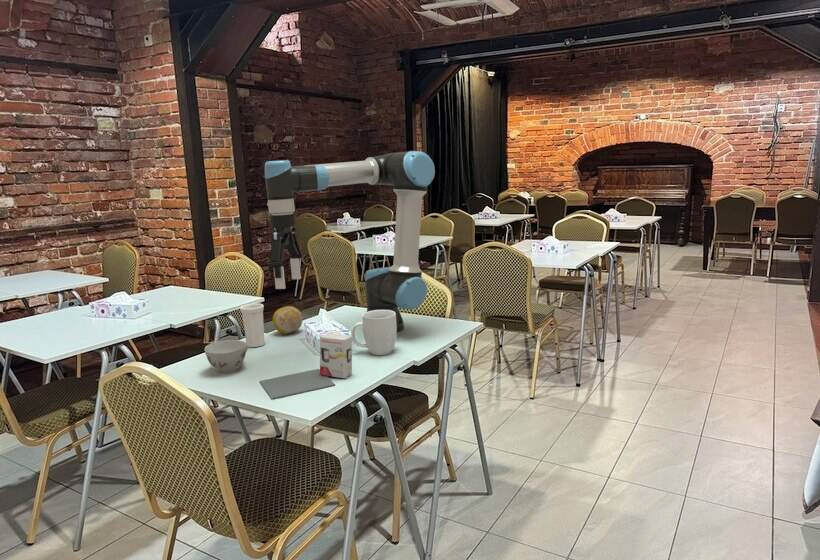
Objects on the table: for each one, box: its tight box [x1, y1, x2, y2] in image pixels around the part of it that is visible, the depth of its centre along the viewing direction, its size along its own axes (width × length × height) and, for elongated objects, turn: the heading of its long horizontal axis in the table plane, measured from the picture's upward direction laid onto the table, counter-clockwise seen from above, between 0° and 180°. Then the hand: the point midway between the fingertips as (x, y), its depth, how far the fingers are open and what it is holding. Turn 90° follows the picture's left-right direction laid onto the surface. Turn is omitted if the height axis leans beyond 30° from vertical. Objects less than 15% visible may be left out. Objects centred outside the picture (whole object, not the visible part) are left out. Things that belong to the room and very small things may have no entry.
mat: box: [259, 368, 336, 400], centre depth 166 cm, size 18×15×1 cm
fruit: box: [272, 305, 303, 335], centre depth 216 cm, size 10×11×10 cm
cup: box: [239, 303, 266, 348], centre depth 203 cm, size 8×8×14 cm
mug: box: [350, 310, 398, 356], centre depth 189 cm, size 15×11×13 cm
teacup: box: [204, 339, 249, 374], centre depth 181 cm, size 15×12×8 cm
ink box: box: [319, 332, 353, 379], centre depth 170 cm, size 9×5×12 cm, turn 68°
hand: (288, 283), depth 176 cm, fingers open, 13 cm apart
